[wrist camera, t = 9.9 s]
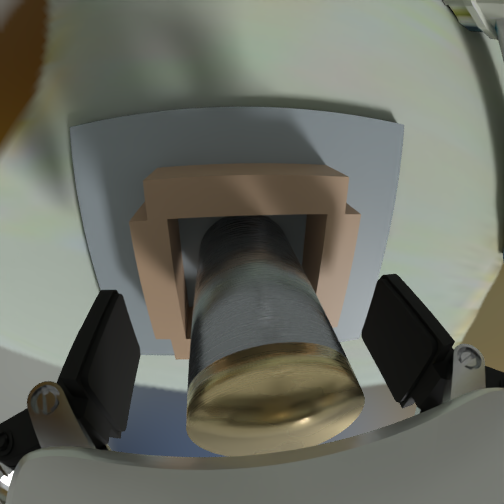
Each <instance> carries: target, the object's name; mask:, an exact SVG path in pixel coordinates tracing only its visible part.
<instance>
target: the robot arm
mask: <svg viewBox="0 0 504 504" xmlns="http://www.w3.org/2000/svg"><path fill="white" fill-rule="evenodd" d="M362 339H363V341H364V343H365V345H366V346H367V348H368V350H369V352H370V354H371V356H372V357H373V359H374V361H375V363H376V365H377V367H378V368H379V370H380V372H381V374H382V376H383V378H384V380H385V382H386V384H387V386H388V387H389V389H390V391H391V393H392V395H393V397H394V399H395V400H396V402H399V403H400V405H401V407H402V408H405V407H407V406H410V405H412V404H414V402H415V403H416V405H417V408H416V412H415V416H413V417H410V418H408V419H405V420H402V421H400V422H397V423H395V424H392V425H389V426H386V427H383V428H380V429H377V430H374V431H370V432H367V433H364V434H360V435H357V436H353V437H350V438H346V439H342V440H339V441H334V442H330V443H325V444H321V445H316V446H311V447H306V448H301V449H295V450H289V451H282V452H275V453H267V454H257V455H246V456H232V457H193V458H192V457H168V456H152V455H140V454H131V453H123V452H115V451H111V449H110V447H109V446H108V444H107V443H108V441H109V437H113V438H121V432H122V431H125V430H126V426H127V420H128V414H129V409H130V403H131V397H132V392H133V387H134V382H135V378H136V373H137V368H138V364H139V359H140V346H139V344H138V341H137V338H136V335H135V332H134V329H133V326H132V323H131V320H130V317H129V314H128V311H127V307H126V304H125V301H124V297H123V295H122V294H119V293H118V291H117V290H101V291H100V292H99V294H98V296H97V298H96V300H95V302H94V303H93V305H92V307H91V309H90V311H89V313H88V315H87V317H86V319H85V321H84V323H83V325H82V327H81V329H80V330H79V332H78V335H77V337H76V339H75V341H74V343H73V345H72V348H71V350H70V352H69V354H68V357H67V359H66V361H65V364H64V366H63V368H62V371H61V373H60V376H59V378H58V381H57V383H54V382H51V381H45V382H42V383H39V384H38V385H36V386H35V387H34V388H33V389H32V390H31V391H30V393H29V395H28V399H27V409H25V410H24V411H22V412H20V413H18V414H17V415H15V416H13V417H12V418H10V419H8V420H6V421H4V422H3V423H1V424H0V504H504V372H501V371H498V370H495V369H493V368H490V367H487V366H485V362H484V358H483V356H482V354H481V353H480V351H479V350H478V349H476V348H475V347H474V346H471V345H469V344H460V345H458V346H457V347H456V348H455V349H453V348H452V346H453V344H454V342H455V341H454V340H453V339H452V337H451V336H450V335H449V334H448V332H447V331H446V330H445V329H444V327H443V326H442V325H441V324H440V323H439V321H438V320H437V319H436V318H435V317H434V315H433V314H432V313H431V312H430V311H429V309H428V308H427V307H426V306H425V305H424V304H423V303H422V301H421V300H420V299H419V298H418V297H417V296H416V295H415V294H414V292H413V291H412V290H411V289H410V288H409V287H408V286H407V285H406V284H405V282H404V281H403V280H402V279H401V278H400V277H399V276H398V275H397V274H389V275H383V276H381V278H380V279H379V280H378V281H377V283H376V287H375V290H374V294H373V297H372V300H371V304H370V307H369V310H368V313H367V317H366V320H365V323H364V326H363V329H362Z"/></svg>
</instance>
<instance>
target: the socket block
mask: <svg viewBox="0 0 504 504" xmlns="http://www.w3.org/2000/svg"><path fill="white" fill-rule="evenodd" d="M403 135H404V125H403V124H398V123H394V122H389V121H384V120H379V119H373V118H368V117H362V116H356V115H349V114H342V113H335V112H326V111H317V110H306V109H294V108H276V107H207V108H189V109H177V110H166V111H157V112H149V113H141V114H134V115H128V116H122V117H116V118H110V119H105V120H100V121H95V122H90V123H86V124H81V125H77V126H73V127H70V137H71V149H72V159H73V167H74V175H75V182H76V189H77V195H78V201H79V206H80V211H81V216H82V221H83V226H84V231H85V235H86V239H87V243H88V248H89V251H90V255H91V259H92V263H93V266H94V270H95V273H96V277H97V280H98V283H99V287H100V290H117V291H118V293H119V294H122V295H123V297H124V301H125V304H126V307H127V311H128V314H129V317H130V320H131V323H132V326H133V329H134V332H135V335H136V338H137V341H138V344H139V346H140V355H175V358H176V359H189V357H190V342H191V329H192V316H193V305H194V294H195V284H196V275H197V266H198V257H199V249H200V244H201V241H202V239H203V236H204V235H205V233H206V232H207V230H208V229H209V228H210V227H211V226H212V225H213V224H214V223H215V222H217V221H218V220H220V219H221V218H223V217H225V216H249V215H263V216H266V217H268V218H270V219H271V220H273V221H274V222H275V223H276V224H278V226H279V227H280V228H281V229H282V231H283V232H284V234H285V236H286V238H287V239H288V241H289V243H290V245H291V247H292V249H293V251H294V253H295V255H296V256H297V258H298V260H299V262H300V264H301V266H302V268H303V270H304V272H305V274H306V276H307V278H308V280H309V282H310V284H311V285H312V287H313V289H314V291H315V293H316V295H317V297H318V299H319V301H320V303H321V305H322V307H323V309H324V311H325V313H326V315H327V317H328V319H329V322H330V324H331V326H332V328H333V330H334V332H335V334H336V336H337V338H338V340H339V342H343V341H349V340H355V339H359V338H360V335H361V332H362V329H363V326H364V323H365V320H366V317H367V313H368V310H369V307H370V304H371V300H372V297H373V294H374V290H375V287H376V283H377V280H378V276H379V273H380V269H381V265H382V261H383V257H384V253H385V248H386V244H387V240H388V235H389V230H390V225H391V220H392V215H393V210H394V204H395V198H396V192H397V186H398V179H399V172H400V164H401V155H402V146H403Z"/></svg>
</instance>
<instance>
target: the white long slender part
mask: <svg viewBox="0 0 504 504" xmlns="http://www.w3.org/2000/svg"><path fill="white" fill-rule="evenodd" d="M443 2H444V4H445V5H449V6H450V8H451V9H452V11H453V12H454V14H455V15H456V17H457V18H458V22H459V23H460V24H462V25H463V26H464V27H466V28H467V29H468V30H470V31H478V32H484V33H485V34H486V35H487V36H488V37H489V38H490V39H497V40H498V41H499V45H500V48H501V52H502V57H503V61H504V0H443ZM503 261H504V249H503Z"/></svg>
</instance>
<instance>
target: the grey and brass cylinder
mask: <svg viewBox="0 0 504 504" xmlns="http://www.w3.org/2000/svg"><path fill="white" fill-rule="evenodd" d="M364 403H365V397H364V394H363V392H362V389H361V387H360V385H359V383H358V381H357V378H356V376H355V374H354V372H353V370H352V368H351V365H350V363H349V361H348V359H347V357H346V355H345V353H344V351H343V348H342V346H341V344H340V342H339V340H338V338H337V336H336V334H335V332H334V330H333V328H332V326H331V324H330V322H329V319H328V317H327V315H326V313H325V311H324V309H323V307H322V305H321V303H320V301H319V299H318V297H317V295H316V293H315V291H314V289H313V287H312V285H311V284H310V282H309V280H308V278H307V276H306V274H305V272H304V270H303V268H302V266H301V264H300V262H299V260H298V258H297V256H296V255H295V253H294V251H293V249H292V247H291V245H290V243H289V241H288V239H287V238H286V236H285V234H284V232H283V231H282V229H281V228H280V227H279V226H278V224H276V223H275V222H274V221H273V220H271V219H270V218H268V217H266V216H263V215H249V216H225V217H223V218H221V219H220V220H218V221H217V222H215V223H214V224H213V225H212V226H211V227H210V228H209V229H208V230H207V232H206V233H205V235H204V236H203V239H202V241H201V244H200V249H199V257H198V266H197V275H196V284H195V294H194V305H193V316H192V329H191V342H190V357H189V374H188V395H187V426H186V430H187V433H188V436H189V437H190V439H191V440H192V441H193V442H194V443H195V444H197V445H198V446H199V447H201V448H203V449H205V450H208V451H210V452H213V453H216V454H220V455H225V456H230V457H232V456H246V455H257V454H267V453H275V452H282V451H289V450H295V449H301V448H306V447H311V446H315V445H318V444H320V443H322V442H324V441H326V440H328V439H330V438H332V437H334V436H335V435H337V434H338V433H340V432H342V431H343V430H344V429H346V428H347V427H348V426H349V425H350V424H351V423H352V422H353V421H354V420H355V419H356V418H357V417H358V416H359V414H360V413H361V411H362V409H363V407H364Z"/></svg>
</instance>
